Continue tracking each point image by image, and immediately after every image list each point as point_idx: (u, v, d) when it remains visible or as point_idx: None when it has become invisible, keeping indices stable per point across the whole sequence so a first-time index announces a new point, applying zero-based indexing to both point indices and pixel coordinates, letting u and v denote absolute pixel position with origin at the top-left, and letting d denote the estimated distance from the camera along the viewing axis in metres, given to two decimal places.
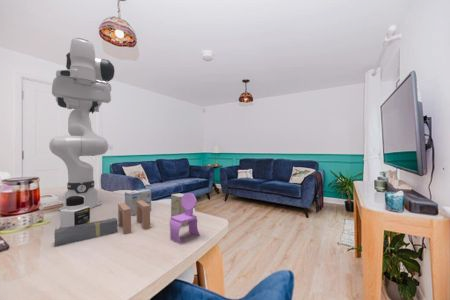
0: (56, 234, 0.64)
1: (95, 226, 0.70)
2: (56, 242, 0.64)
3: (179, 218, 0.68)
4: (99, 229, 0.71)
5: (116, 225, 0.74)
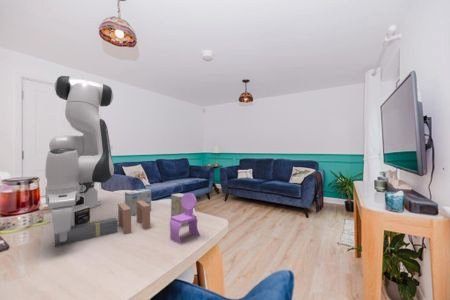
0: (56, 234, 0.64)
1: (95, 226, 0.70)
2: (56, 241, 0.64)
3: (179, 218, 0.68)
4: (99, 229, 0.71)
5: (116, 225, 0.74)
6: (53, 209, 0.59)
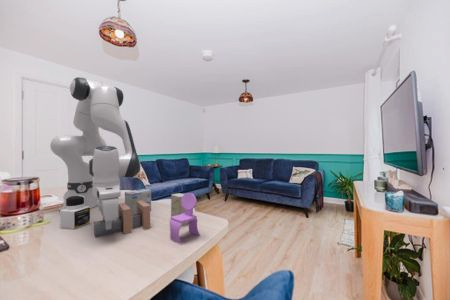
0: (96, 226, 0.70)
1: None
2: (96, 233, 0.70)
3: (179, 218, 0.68)
4: (132, 222, 0.78)
5: None
6: (103, 200, 0.66)
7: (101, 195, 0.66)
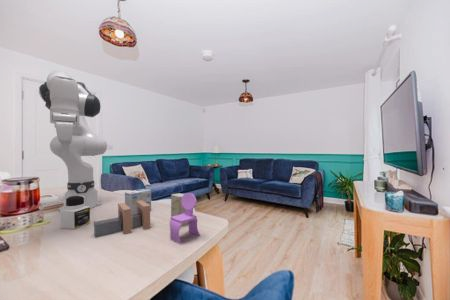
0: (96, 226, 0.70)
1: None
2: (96, 233, 0.70)
3: (179, 218, 0.68)
4: (132, 222, 0.78)
5: None
6: (57, 121, 0.68)
7: (54, 116, 0.68)
